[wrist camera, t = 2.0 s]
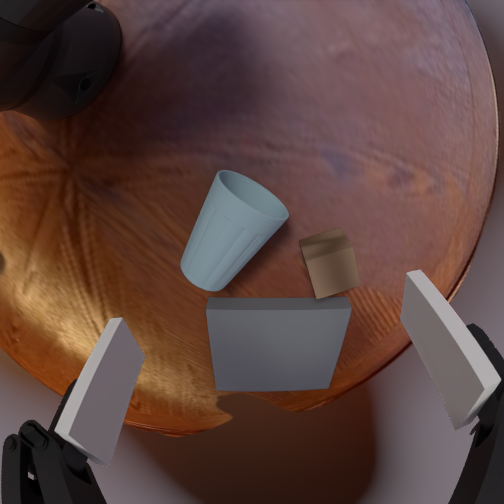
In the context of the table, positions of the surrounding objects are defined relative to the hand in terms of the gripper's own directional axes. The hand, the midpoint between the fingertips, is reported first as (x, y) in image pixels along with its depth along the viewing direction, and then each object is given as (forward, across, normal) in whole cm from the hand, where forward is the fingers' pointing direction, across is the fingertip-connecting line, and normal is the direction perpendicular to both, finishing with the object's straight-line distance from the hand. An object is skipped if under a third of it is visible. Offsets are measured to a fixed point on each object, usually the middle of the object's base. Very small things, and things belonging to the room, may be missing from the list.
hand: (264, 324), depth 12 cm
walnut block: (+20, +6, -8) cm, 23 cm away
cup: (+21, -6, -5) cm, 22 cm away
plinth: (+20, -1, -22) cm, 30 cm away
